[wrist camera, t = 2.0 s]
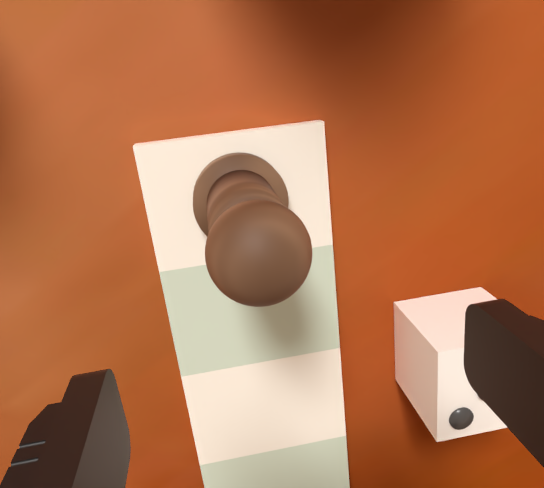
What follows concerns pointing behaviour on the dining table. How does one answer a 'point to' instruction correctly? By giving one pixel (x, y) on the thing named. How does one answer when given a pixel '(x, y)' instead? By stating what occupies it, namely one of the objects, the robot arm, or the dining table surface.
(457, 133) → the dining table surface
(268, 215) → the pawn
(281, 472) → the game board
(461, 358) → the die
